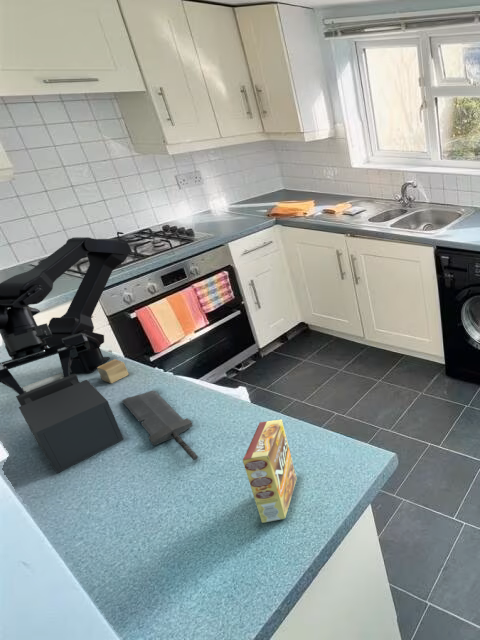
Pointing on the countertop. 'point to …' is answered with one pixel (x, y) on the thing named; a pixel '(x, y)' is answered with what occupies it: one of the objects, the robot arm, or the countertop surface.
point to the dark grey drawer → (46, 387)
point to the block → (112, 371)
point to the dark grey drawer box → (72, 424)
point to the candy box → (270, 470)
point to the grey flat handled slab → (159, 419)
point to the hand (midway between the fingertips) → (47, 389)
